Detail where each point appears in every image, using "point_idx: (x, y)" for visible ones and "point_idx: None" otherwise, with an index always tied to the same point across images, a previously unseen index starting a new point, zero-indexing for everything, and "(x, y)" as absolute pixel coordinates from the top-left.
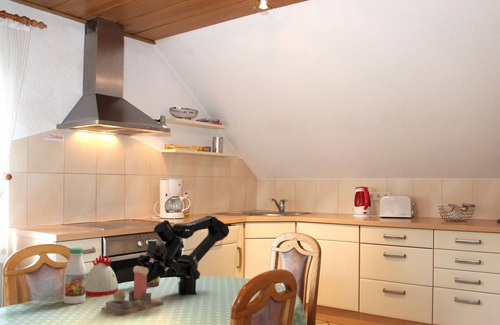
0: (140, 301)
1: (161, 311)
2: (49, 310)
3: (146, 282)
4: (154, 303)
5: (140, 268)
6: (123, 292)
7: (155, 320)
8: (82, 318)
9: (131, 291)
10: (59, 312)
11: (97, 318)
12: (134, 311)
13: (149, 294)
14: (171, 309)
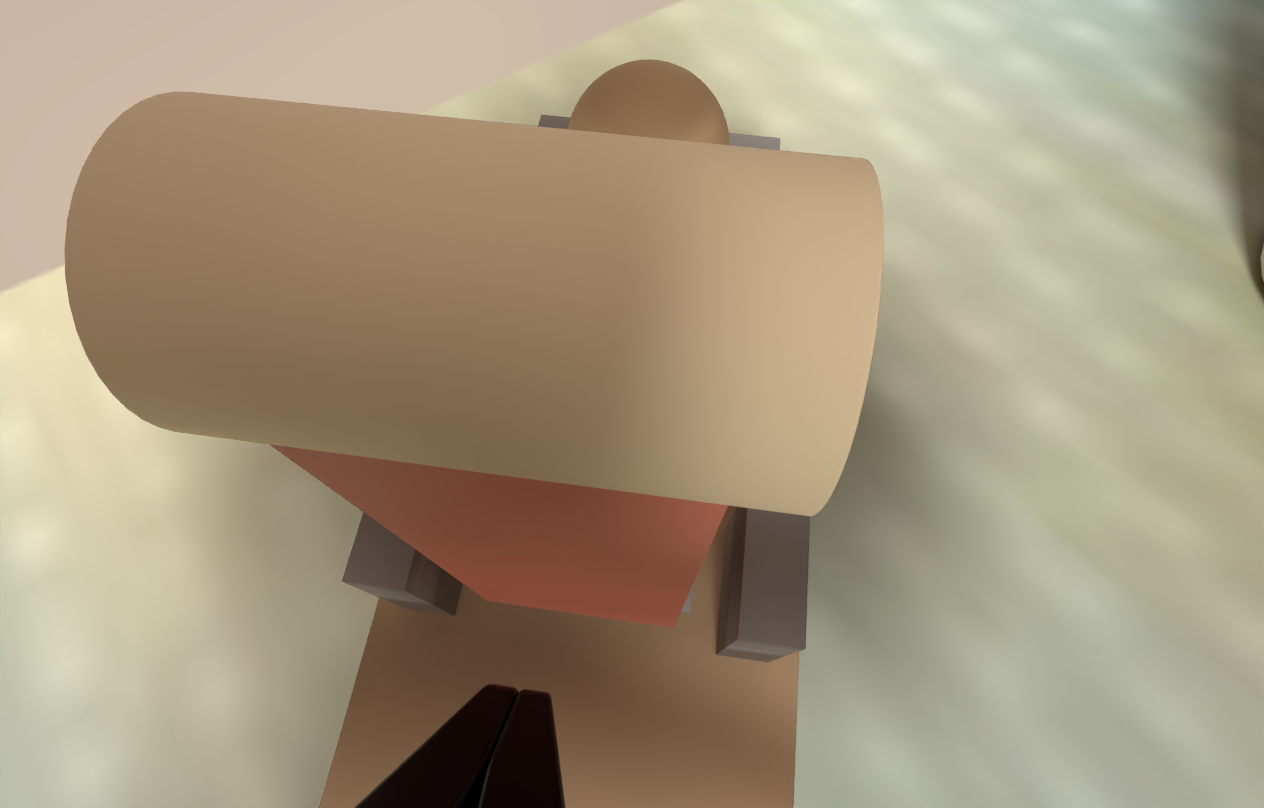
0: (630, 635)
1: (186, 529)
2: (1185, 24)
3: (404, 533)
4: (365, 659)
5: (407, 114)
6: (587, 119)
7: None
8: (753, 14)
9: None
10: (1061, 27)
11: None
12: None
13: (360, 540)
14: (83, 689)
